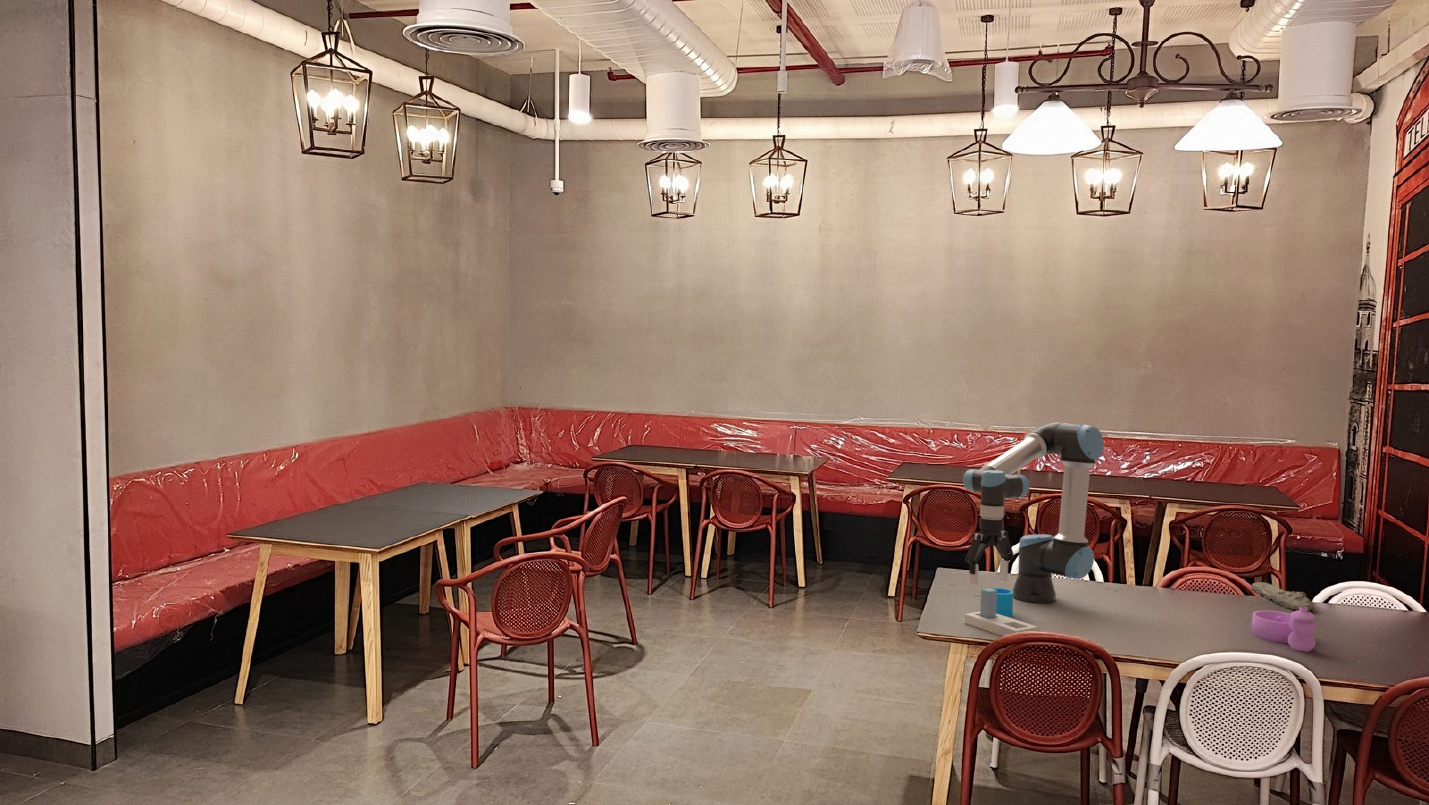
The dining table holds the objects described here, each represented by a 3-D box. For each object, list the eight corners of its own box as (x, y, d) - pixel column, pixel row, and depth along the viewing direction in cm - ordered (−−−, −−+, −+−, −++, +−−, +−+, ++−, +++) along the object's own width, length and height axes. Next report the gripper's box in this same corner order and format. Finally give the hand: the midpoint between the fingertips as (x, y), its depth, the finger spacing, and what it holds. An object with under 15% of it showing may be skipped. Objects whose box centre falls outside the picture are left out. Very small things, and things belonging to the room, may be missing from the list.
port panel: (964, 623, 338) (964, 613, 337) (986, 619, 343) (986, 609, 343) (1015, 640, 319) (1016, 630, 319) (1037, 636, 324) (1038, 626, 324)
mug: (1011, 619, 344) (1012, 595, 343) (986, 616, 346) (987, 592, 346) (1013, 610, 355) (1014, 587, 354) (989, 607, 358) (990, 584, 357)
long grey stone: (1270, 592, 393) (1243, 593, 393) (1269, 579, 393) (1243, 579, 393) (1321, 612, 358) (1292, 613, 358) (1320, 597, 358) (1292, 598, 358)
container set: (1243, 629, 337) (1245, 589, 336) (1290, 630, 336) (1292, 591, 336) (1282, 652, 312) (1284, 610, 311) (1333, 654, 311) (1335, 611, 311)
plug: (987, 623, 338) (988, 588, 337) (995, 625, 335) (996, 590, 334) (980, 624, 336) (981, 589, 335) (987, 627, 333) (989, 591, 332)
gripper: (1009, 513, 343) (1006, 575, 344) (955, 518, 330) (952, 583, 331) (1027, 517, 336) (1024, 580, 338) (972, 522, 323) (969, 588, 325)
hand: (988, 582), depth 334 cm, fingers open, 13 cm apart
